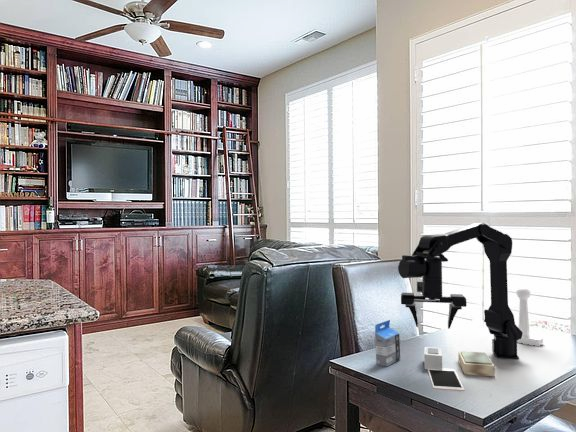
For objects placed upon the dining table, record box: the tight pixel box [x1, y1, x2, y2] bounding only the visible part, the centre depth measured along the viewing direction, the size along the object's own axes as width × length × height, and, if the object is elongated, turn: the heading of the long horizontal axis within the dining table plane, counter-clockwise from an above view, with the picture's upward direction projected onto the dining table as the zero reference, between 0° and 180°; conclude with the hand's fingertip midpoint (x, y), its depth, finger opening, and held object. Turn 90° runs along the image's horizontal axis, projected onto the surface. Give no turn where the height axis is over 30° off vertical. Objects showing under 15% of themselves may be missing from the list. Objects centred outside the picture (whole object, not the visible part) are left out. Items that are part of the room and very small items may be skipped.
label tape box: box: [374, 319, 401, 367], centre depth 134 cm, size 9×4×12 cm, turn 137°
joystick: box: [515, 286, 544, 347], centre depth 155 cm, size 11×8×20 cm
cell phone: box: [426, 367, 465, 392], centre depth 120 cm, size 8×16×1 cm, turn 168°
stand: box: [458, 350, 496, 377], centre depth 128 cm, size 8×12×3 cm, turn 166°
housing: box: [423, 346, 443, 370], centre depth 131 cm, size 5×8×5 cm, turn 162°
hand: (432, 327), depth 131 cm, fingers open, 9 cm apart
